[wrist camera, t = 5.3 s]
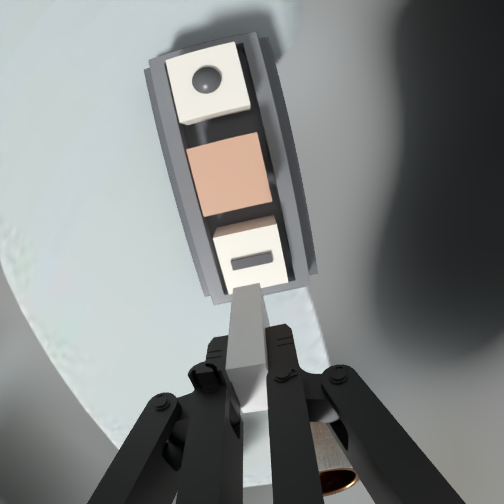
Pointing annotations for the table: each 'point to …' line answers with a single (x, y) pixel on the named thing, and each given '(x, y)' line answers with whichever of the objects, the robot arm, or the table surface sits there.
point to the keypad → (274, 156)
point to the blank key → (229, 174)
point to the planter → (331, 461)
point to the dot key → (208, 84)
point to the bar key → (250, 253)
